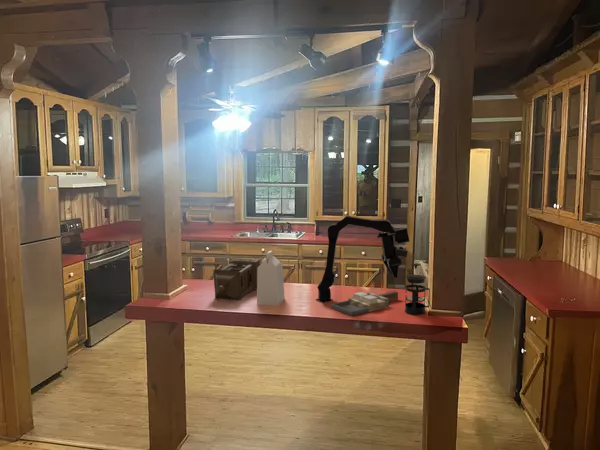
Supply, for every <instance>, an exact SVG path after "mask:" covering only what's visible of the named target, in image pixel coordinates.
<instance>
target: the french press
mask: <svg viewBox="0 0 600 450" xmlns="http://www.w3.org/2000/svg"><path fill="white" fill-rule="evenodd" d="M410 265H411V266H412V267H414V269H415V271H414V272H415V273H414V274H407V275H405V278H406V279H407V282H408V283H410V284H408V285H405V292H410V293H412V294H411V295H410V296H406V297H405V301H404V302H405V309H404V313H406V314H407V315H408V314H409V315H410V316H411V315H412V316H422V315H425V314H426V308H430V300H431V299H430V293H431V291H430V290H431V289H430V287H426V286H424V285H421V284H423V283H425V282H426V281H425V279H426V276H425V275H421V274H417V268H418V267H419V266H421V264H420V263H411V264H410ZM419 288H420V289H419ZM426 290H428V298H427V299H428V302H427V303H428V305H426V293H425V292H426ZM423 292H424V297H422V296H419V293H423Z"/></svg>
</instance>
